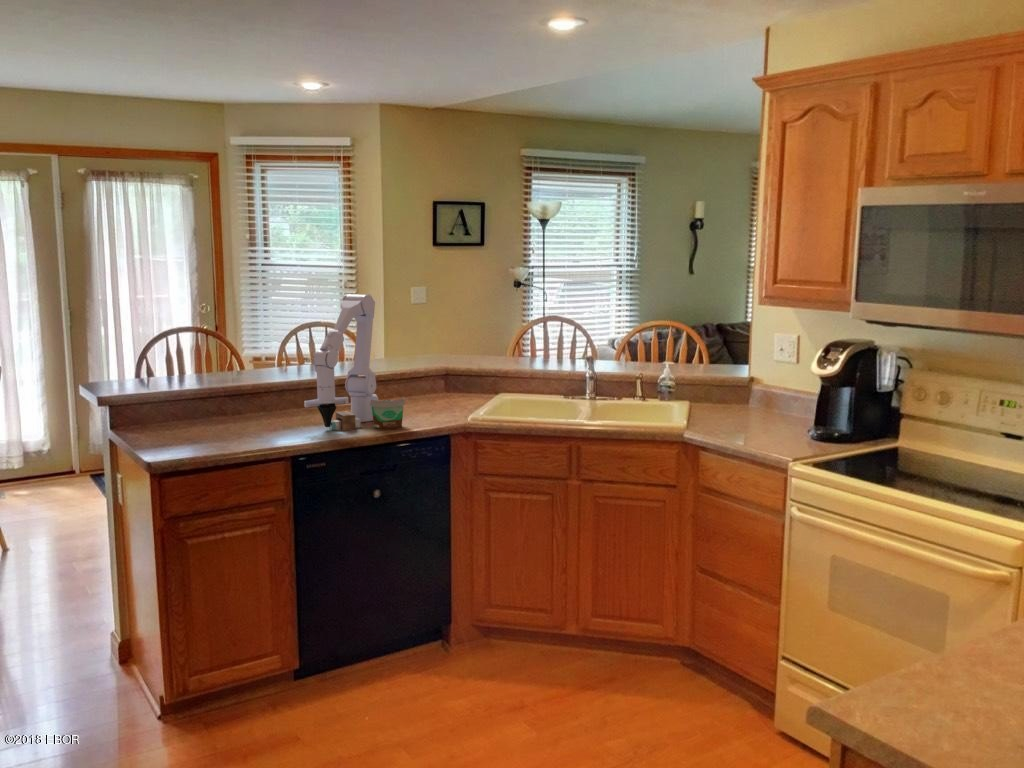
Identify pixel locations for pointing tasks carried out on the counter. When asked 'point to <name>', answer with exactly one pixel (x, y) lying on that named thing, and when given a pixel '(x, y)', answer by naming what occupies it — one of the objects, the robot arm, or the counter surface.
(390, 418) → the food container
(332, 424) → the white teal bar
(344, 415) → the angled brown block
